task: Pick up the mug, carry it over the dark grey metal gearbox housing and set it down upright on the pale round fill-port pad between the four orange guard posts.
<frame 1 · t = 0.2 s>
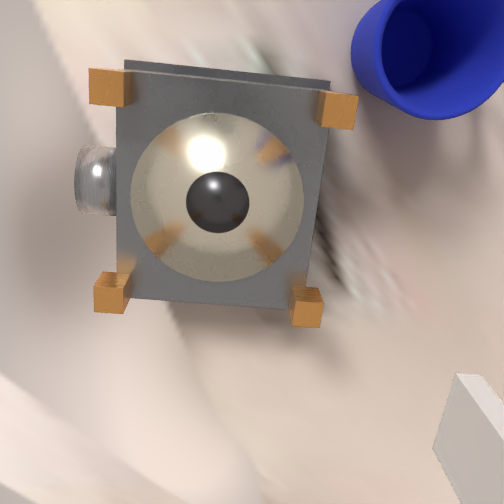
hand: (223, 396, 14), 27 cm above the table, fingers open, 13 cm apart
mug: (416, 55, 36), on the table
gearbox: (220, 182, 39), on the table
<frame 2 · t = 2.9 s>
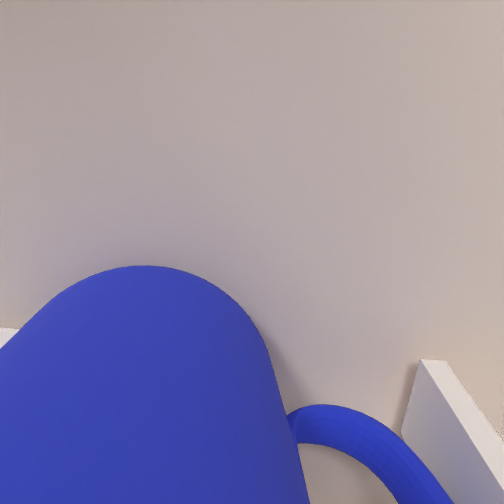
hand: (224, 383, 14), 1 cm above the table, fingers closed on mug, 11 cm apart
mug: (217, 362, 15), on the table, touching gripper
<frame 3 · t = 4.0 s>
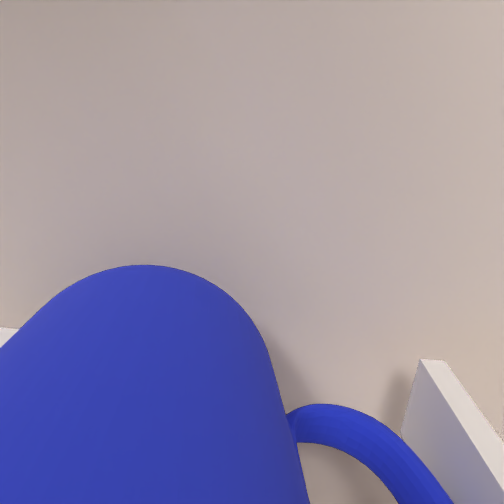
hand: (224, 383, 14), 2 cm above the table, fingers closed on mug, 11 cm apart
mug: (217, 361, 15), point 1 cm above the table, touching gripper
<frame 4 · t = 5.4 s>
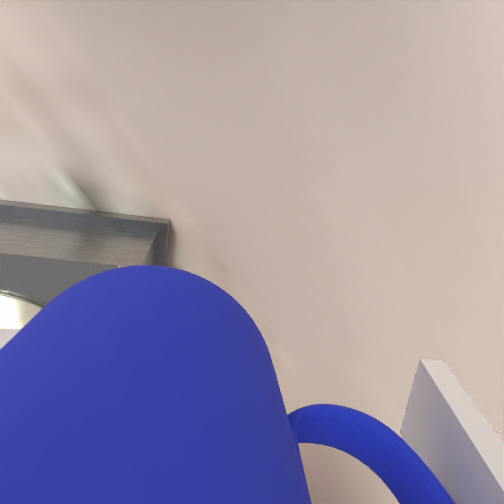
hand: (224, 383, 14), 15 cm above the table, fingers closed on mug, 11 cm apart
mug: (218, 362, 15), point 14 cm above the table, touching gripper
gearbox: (40, 334, 30), on the table
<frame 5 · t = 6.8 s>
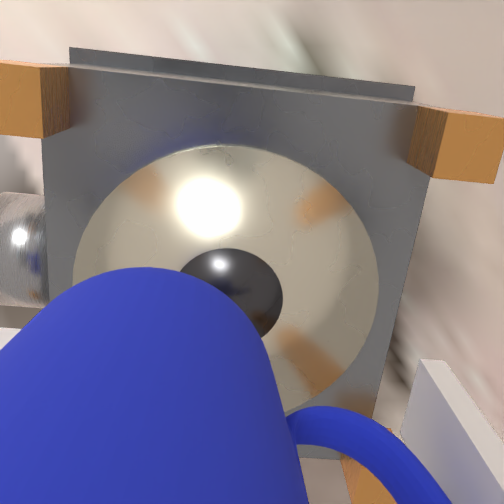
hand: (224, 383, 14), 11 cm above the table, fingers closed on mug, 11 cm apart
mug: (217, 363, 15), point 11 cm above the table, touching gripper
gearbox: (229, 244, 25), on the table
when the fingers open (8 cm above the table, at t = 8.0 s): mug stays where it is, resting on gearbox.
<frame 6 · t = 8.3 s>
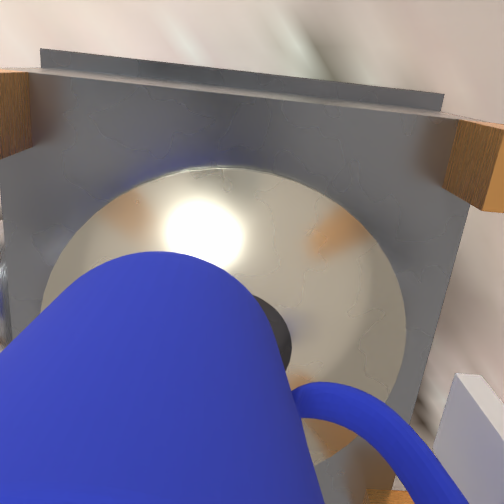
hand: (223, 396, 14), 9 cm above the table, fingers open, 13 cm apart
mug: (225, 344, 16), point 6 cm above the table, touching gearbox
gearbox: (228, 273, 22), on the table
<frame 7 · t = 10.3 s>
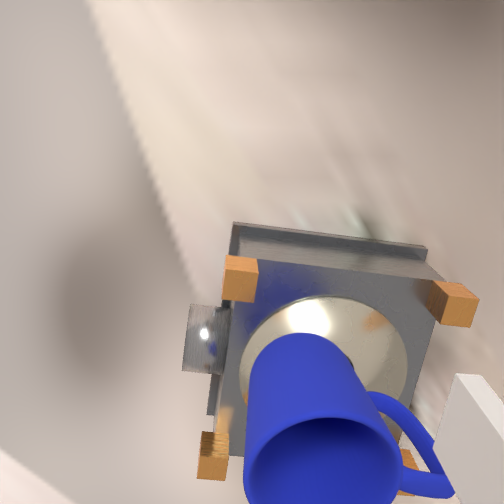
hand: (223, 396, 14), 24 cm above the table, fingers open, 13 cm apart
mug: (323, 372, 34), point 6 cm above the table, touching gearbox
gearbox: (309, 331, 40), on the table
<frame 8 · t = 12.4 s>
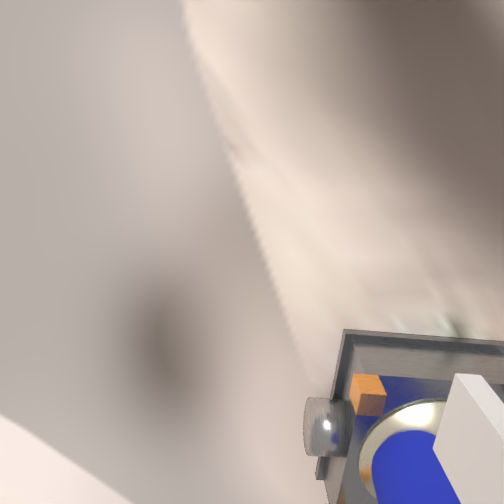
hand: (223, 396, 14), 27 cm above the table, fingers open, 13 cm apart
mug: (427, 457, 41), point 6 cm above the table, touching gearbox
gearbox: (404, 411, 47), on the table
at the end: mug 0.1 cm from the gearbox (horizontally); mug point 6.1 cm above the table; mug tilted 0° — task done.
